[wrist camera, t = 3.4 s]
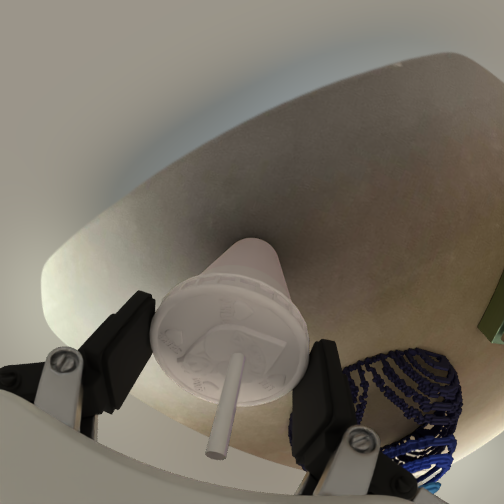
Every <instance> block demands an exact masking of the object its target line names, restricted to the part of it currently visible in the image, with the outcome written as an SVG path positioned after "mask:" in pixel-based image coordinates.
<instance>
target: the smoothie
mask: <svg viewBox="0 0 504 504" xmlns="http://www.w3.org/2000/svg"><path fill="white" fill-rule="evenodd" d="M309 342H310V340H309V335H308V329H307V324H306V322H305V320H304V319H303V317H302V315H301V313H300V312H299V310H298V308H297V307H296V306H295V305H294V304H293V303H292V301H291V298H290V294H289V291H288V288H287V284H286V281H285V278H284V275H283V271H282V268H281V265H280V262H279V258H278V255H277V253H276V251H275V250H274V248H273V247H272V246H271V245H270V244H268V243H267V242H265V241H263V240H261V239H258V238H245V239H242V240H239V241H237V242H236V243H235V244H233V245H232V246H231V247H230V248H229V249H228V250H227V251H225V252H224V253H223V254H222V255H221V256H220V257H219V258H218V259H217V260H215V261H214V262H213V263H212V264H211V265H210V266H209V267H208V268H206V269H205V270H204V271H203V272H202V273H201V274H200V275H199V276H194V277H191V278H189V279H187V280H186V281H184V282H182V283H180V284H178V285H176V286H175V287H174V288H173V289H172V290H171V291H170V292H169V293H168V294H167V295H166V296H165V297H164V298H163V300H162V302H161V305H160V307H159V308H158V309H157V311H156V312H155V314H154V316H153V318H152V322H151V325H150V344H151V348H152V351H153V354H154V356H155V359H156V360H157V362H158V364H159V365H160V367H161V368H162V370H163V371H164V372H165V373H166V375H167V376H168V377H169V378H170V379H171V380H172V381H173V382H175V383H176V384H177V385H178V386H179V387H181V388H182V389H184V390H185V391H187V392H189V393H190V394H192V395H194V396H196V397H198V398H201V399H203V400H206V401H209V402H212V403H215V404H218V407H217V411H216V415H215V419H214V422H213V426H212V430H211V434H210V437H209V441H208V445H207V449H206V452H205V455H206V456H207V457H209V458H211V459H215V460H224V459H226V455H227V451H228V446H229V441H230V436H231V431H232V426H233V421H234V416H235V411H236V407H247V406H256V405H261V404H265V403H269V402H271V401H274V400H276V399H278V398H280V397H282V396H284V395H286V394H287V393H288V392H290V391H291V390H292V389H293V388H295V387H296V385H297V384H298V383H299V382H300V381H301V379H302V378H303V376H304V374H305V372H306V370H307V367H308V363H309Z"/></svg>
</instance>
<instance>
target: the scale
mask: <svg viewBox="0 0 504 504" xmlns="http://www.w3.org/2000/svg"><path fill="white" fill-rule="evenodd" d="M478 329H479V330H480V331H481V332H482V333H483V334H484V335H485V336H486V337H487V339H488V340H489V341H490V342H491V343H497V344H504V342H503V341H502V340H501V339H500V338H501V336H502V334H503V333H504V271H503V274H502V276H501V279H500V281H499V284H498V286H497V288H496V291H495V293H494V295H493V297H492V299H491V302H490V304H489V306H488V308H487V310H486V312H485V314H484V316H483V318H482V320H481V321H480V323H479V325H478Z"/></svg>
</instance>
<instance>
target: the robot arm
mask: <svg viewBox="0 0 504 504" xmlns="http://www.w3.org/2000/svg"><path fill="white" fill-rule="evenodd" d="M154 314H155V299H153V298H152V295H151V294H149V293H146V292H143V291H140V290H138V291H137V292H136V293H135V294H134V295H133V296H132V297H131V298H130V299H129V300H128V301H127V302H126V303H125V304H124V305H123V306H122V308H121V309H120V310H119V311H118V312H117V313H116V314H111V315H110V316H109V317H108V318H107V319H106V320H105V321H104V322H103V323H102V324H101V325H100V326H99V328H98V329H97V330H96V331H95V332H94V333H93V334H92V335H91V336H90V337H89V338H88V339H87V340H86V342H85V343H84V344H83V345H82V346H81V347H80V348H79V349H78V350H76V349H74V348H71V347H58V348H56V349H54V350H53V351H51V352H50V353H49V355H48V356H47V358H46V361H45V362H39V363H30V364H19V365H8V366H4V367H2V368H0V504H448V503H447V502H445V501H443V500H441V499H440V498H439V497H437V496H436V495H434V494H433V493H431V492H429V491H428V490H427V489H425V488H424V487H420V488H418V484H417V480H416V478H415V476H414V475H413V474H412V473H410V472H409V471H407V470H406V469H405V468H403V467H402V466H400V465H399V464H397V463H396V462H395V461H393V460H392V459H390V458H389V457H388V456H386V455H385V454H384V453H382V452H381V451H379V450H380V438H379V436H378V434H377V433H376V432H375V431H374V430H373V429H372V428H370V427H368V426H365V425H358V424H357V419H356V414H355V409H354V404H353V399H352V395H351V390H350V386H349V381H348V378H347V375H345V374H343V372H342V368H341V364H340V359H339V355H338V351H337V346H336V343H335V341H331V340H326V339H321V340H320V341H319V342H317V341H316V342H315V343H314V345H313V347H312V350H311V352H310V354H309V363H308V367H307V370H306V372H305V374H304V376H303V378H302V379H301V381H300V382H299V383H298V384H297V385H296V387H295V388H293V392H292V398H293V423H292V456H293V457H296V464H304V465H305V469H306V470H307V473H306V475H305V477H304V479H303V480H302V482H301V484H300V486H299V487H298V489H297V491H296V493H295V494H294V495H284V494H273V493H263V492H255V491H248V490H242V489H236V488H231V487H225V486H220V485H216V484H211V483H207V482H202V481H198V480H195V479H191V478H188V477H184V476H181V475H177V474H174V473H171V472H168V471H165V470H162V469H159V468H156V467H153V466H151V465H148V464H145V463H143V462H140V461H138V460H135V459H133V458H130V457H128V456H126V455H123V454H121V453H119V452H117V451H114V450H112V449H110V448H108V447H106V446H104V445H102V444H100V443H98V442H97V426H98V415H99V414H102V413H103V411H105V412H107V413H109V414H112V413H113V412H114V410H115V409H117V410H119V409H120V407H121V406H122V404H123V402H124V400H125V399H126V397H127V395H128V394H129V392H130V390H131V389H132V387H133V385H134V383H135V382H136V380H137V378H138V377H139V375H140V373H141V372H142V370H143V368H144V367H145V365H146V363H147V362H148V360H149V358H150V357H151V355H152V353H153V351H152V348H151V344H150V325H151V322H152V318H153V316H154Z"/></svg>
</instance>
